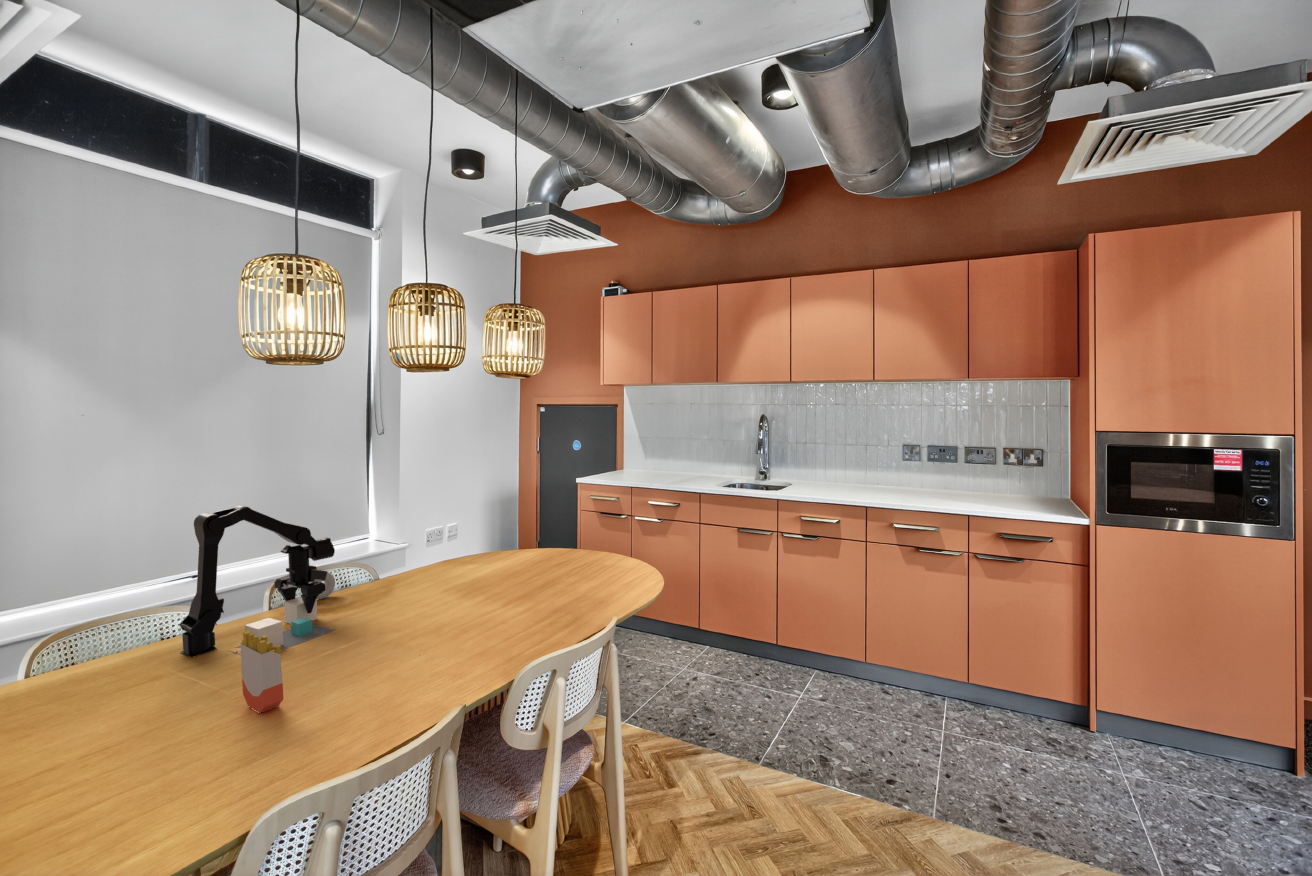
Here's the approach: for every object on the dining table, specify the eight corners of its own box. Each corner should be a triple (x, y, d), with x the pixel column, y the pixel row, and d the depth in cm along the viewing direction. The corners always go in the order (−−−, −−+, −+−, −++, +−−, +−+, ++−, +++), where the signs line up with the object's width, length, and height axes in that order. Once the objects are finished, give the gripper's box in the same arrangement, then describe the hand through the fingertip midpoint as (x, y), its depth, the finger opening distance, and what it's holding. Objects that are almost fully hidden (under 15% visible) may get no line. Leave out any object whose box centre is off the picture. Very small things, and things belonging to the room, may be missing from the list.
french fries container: (264, 695, 144) (260, 624, 143) (285, 708, 138) (282, 634, 137) (243, 704, 141) (239, 630, 139) (264, 717, 135) (260, 640, 133)
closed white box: (297, 626, 189) (296, 605, 189) (284, 622, 192) (284, 601, 192) (317, 619, 195) (316, 598, 194) (305, 616, 198) (304, 595, 198)
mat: (255, 660, 164) (254, 659, 164) (227, 651, 170) (227, 650, 170) (336, 630, 185) (336, 629, 185) (308, 623, 192) (308, 622, 192)
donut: (313, 603, 210) (312, 576, 210) (306, 602, 211) (305, 575, 211) (337, 595, 219) (337, 568, 219) (331, 594, 221) (330, 567, 220)
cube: (299, 636, 180) (298, 623, 180) (291, 634, 182) (291, 621, 182) (312, 632, 183) (311, 619, 183) (304, 629, 185) (303, 617, 185)
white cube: (259, 652, 168) (258, 629, 168) (246, 648, 171) (244, 625, 171) (283, 644, 174) (282, 621, 174) (270, 640, 177) (269, 617, 177)
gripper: (340, 561, 195) (342, 607, 196) (305, 554, 204) (307, 599, 205) (307, 570, 185) (309, 618, 186) (272, 562, 194) (274, 609, 195)
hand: (301, 610), depth 193 cm, fingers open, 9 cm apart
